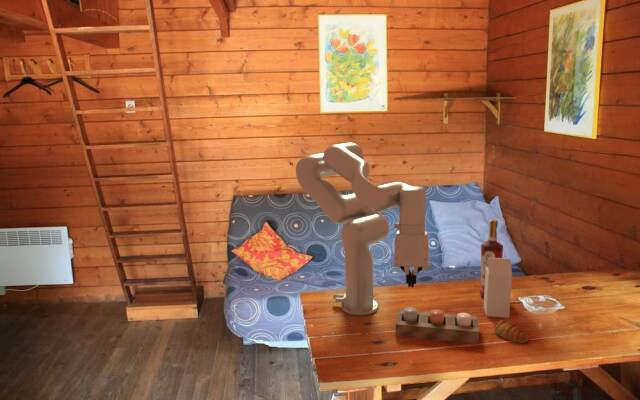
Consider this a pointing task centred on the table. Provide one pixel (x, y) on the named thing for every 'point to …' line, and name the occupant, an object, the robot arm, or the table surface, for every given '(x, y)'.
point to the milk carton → (497, 287)
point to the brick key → (436, 317)
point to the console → (437, 328)
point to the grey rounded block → (410, 314)
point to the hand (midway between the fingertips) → (411, 285)
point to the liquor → (489, 251)
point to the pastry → (511, 331)
